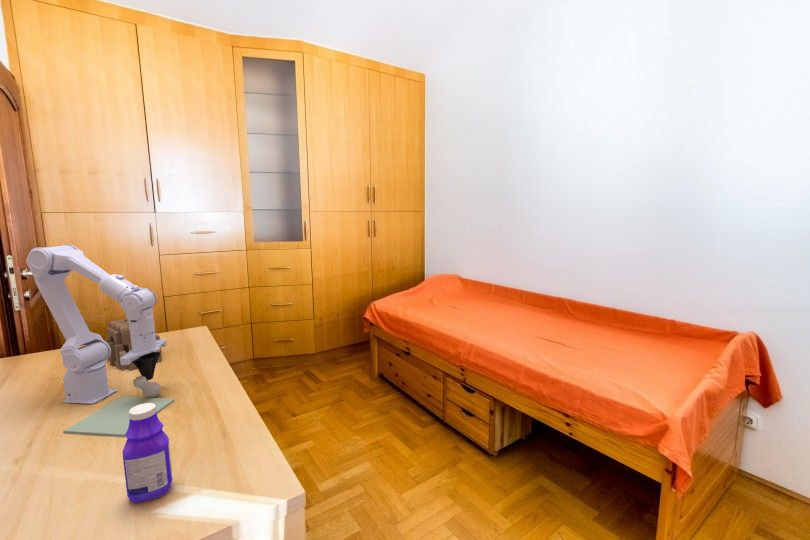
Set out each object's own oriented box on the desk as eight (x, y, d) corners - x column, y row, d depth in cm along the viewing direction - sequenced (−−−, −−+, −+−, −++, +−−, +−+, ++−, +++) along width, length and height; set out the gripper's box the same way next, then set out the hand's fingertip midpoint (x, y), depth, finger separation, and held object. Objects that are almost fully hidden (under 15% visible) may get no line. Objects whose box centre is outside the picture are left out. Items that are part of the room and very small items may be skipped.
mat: (63, 433, 91) (63, 430, 90) (122, 398, 107) (122, 396, 107) (124, 436, 89) (124, 434, 89) (174, 401, 106) (174, 399, 106)
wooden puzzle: (100, 358, 137) (93, 308, 134) (146, 346, 148) (140, 301, 145) (121, 374, 124) (114, 319, 121) (170, 359, 135) (164, 309, 132)
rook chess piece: (155, 400, 107) (139, 389, 100) (141, 397, 107) (125, 386, 101) (165, 385, 109) (150, 374, 103) (151, 382, 110) (136, 371, 104)
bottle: (174, 477, 76) (166, 396, 73) (173, 495, 71) (163, 410, 68) (130, 489, 72) (119, 405, 69) (125, 510, 67) (113, 420, 65)
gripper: (135, 342, 97) (141, 391, 99) (174, 325, 111) (178, 368, 113) (110, 341, 97) (116, 390, 100) (152, 324, 112) (157, 367, 114)
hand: (148, 378), depth 106 cm, fingers closed
